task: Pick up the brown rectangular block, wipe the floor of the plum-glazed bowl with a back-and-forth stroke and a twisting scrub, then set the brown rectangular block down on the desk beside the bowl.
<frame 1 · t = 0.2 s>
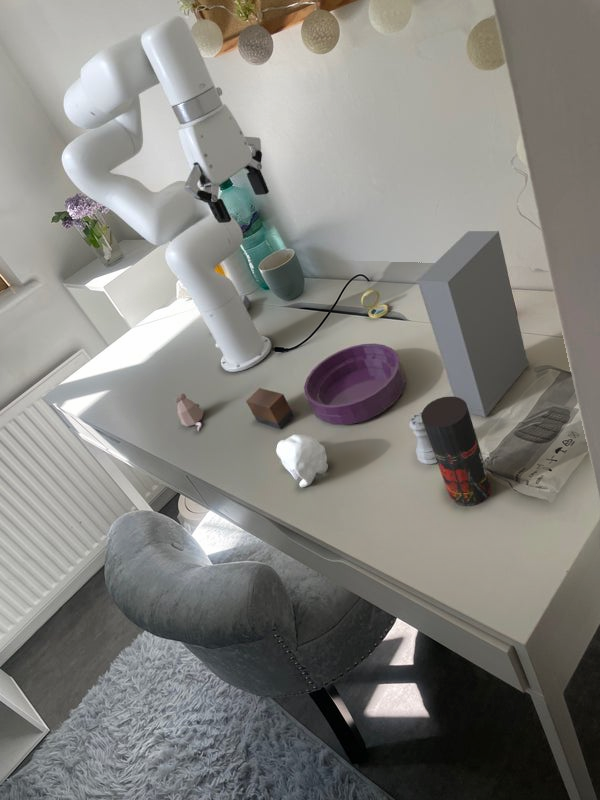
hand: (244, 207, 106), 37 cm above the table, tool pointing down, fingers open, 9 cm apart
brown rectangular block: (275, 418, 119), on the table
stone block: (230, 319, 163), on the table
bowl: (359, 394, 115), on the table
upright grey slab: (491, 388, 102), on the table
mouse figurine: (195, 423, 129), on the table
rook chess piece: (432, 456, 95), on the table
deodorant: (470, 490, 87), on the table
eyeshadow: (378, 312, 136), on the table
white lumpy piece: (305, 470, 104), on the table
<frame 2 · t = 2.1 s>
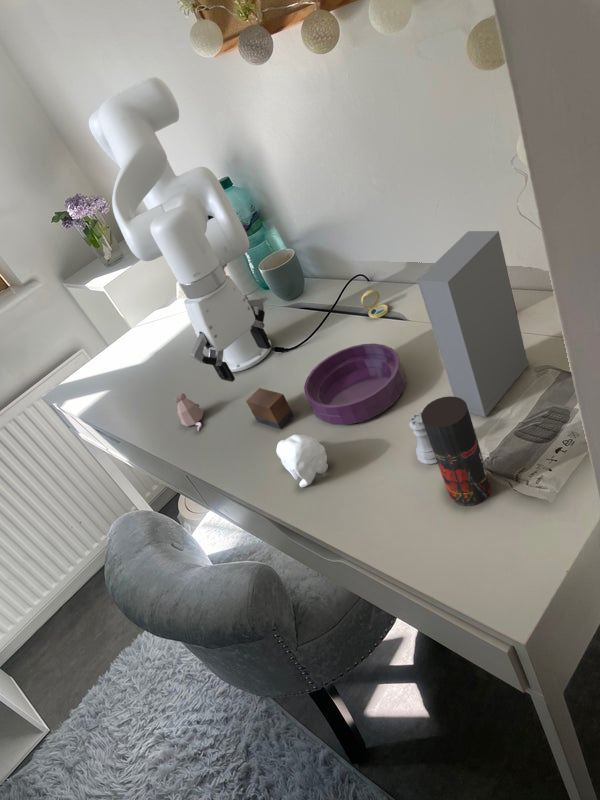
hand: (247, 363, 111), 14 cm above the table, tool pointing down, fingers open, 9 cm apart
nothing on the table moved.
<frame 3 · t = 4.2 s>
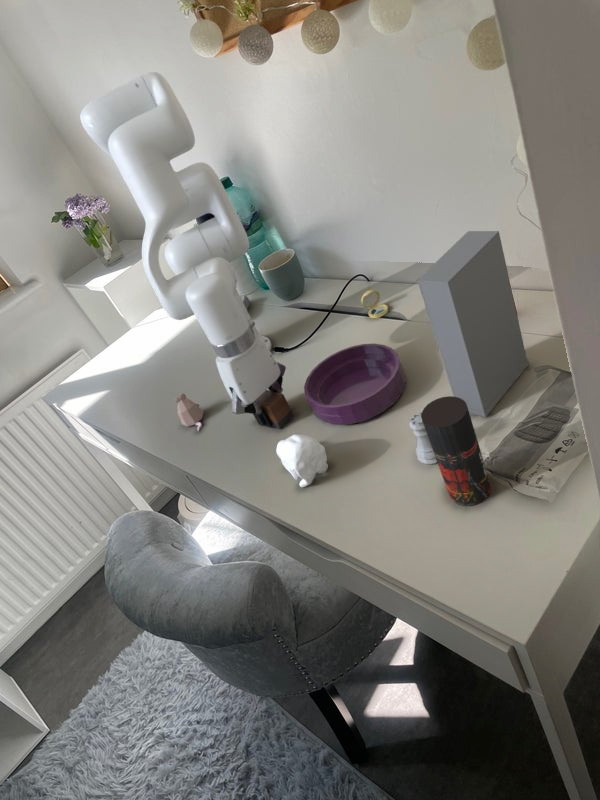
hand: (274, 416, 119), 1 cm above the table, tool pointing down, fingers closed on brown rectangular block, 4 cm apart
brown rectangular block: (275, 418, 119), on the table, touching gripper
everything else where it was.
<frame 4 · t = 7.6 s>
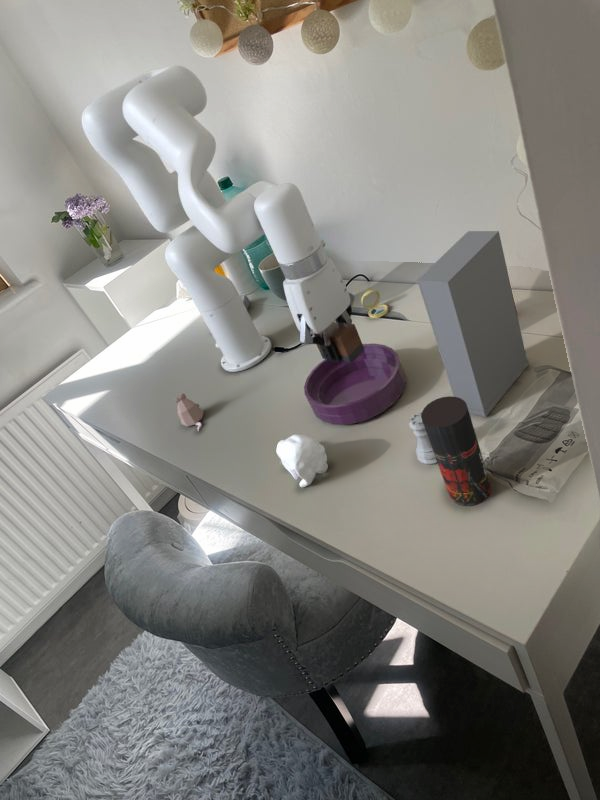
hand: (342, 351, 109), 10 cm above the table, tool pointing down, fingers closed on brown rectangular block, 4 cm apart
brown rectangular block: (343, 354, 109), point 10 cm above the table, touching gripper
everything else where it was.
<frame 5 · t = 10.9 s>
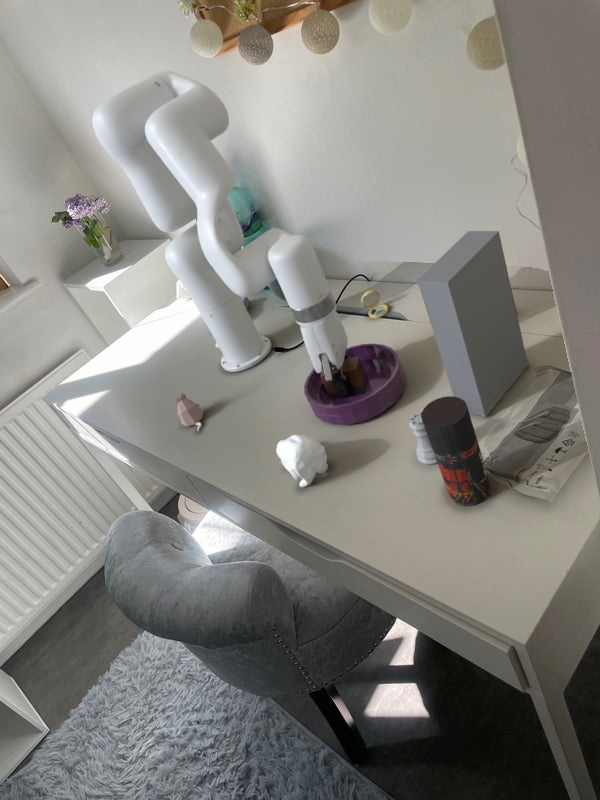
hand: (347, 386, 116), 1 cm above the table, tool pointing down, fingers closed on brown rectangular block, 4 cm apart
brown rectangular block: (349, 388, 116), point 1 cm above the table, touching gripper
everything else where it was.
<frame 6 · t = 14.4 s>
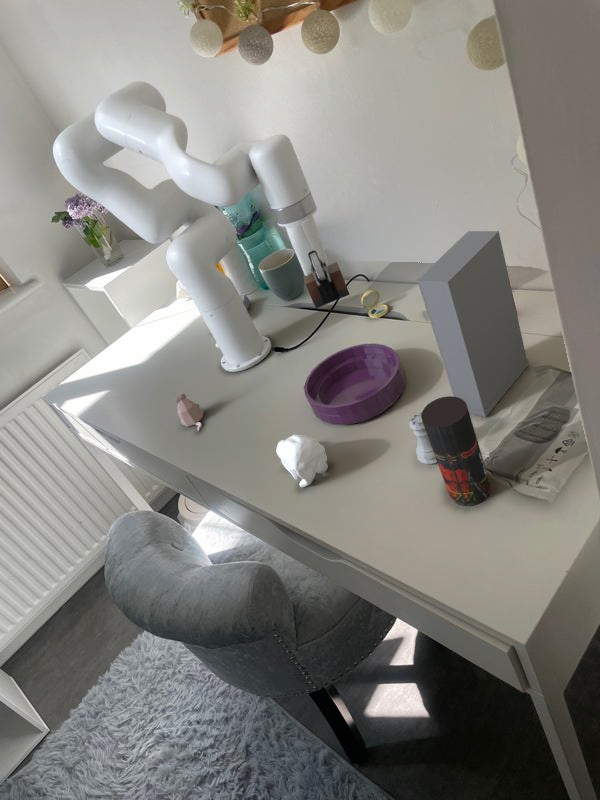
hand: (329, 294, 119), 14 cm above the table, tool pointing down, fingers closed on brown rectangular block, 4 cm apart
brown rectangular block: (331, 297, 119), point 14 cm above the table, touching gripper
everything else where it was.
when the fingers open (0 cm above the table, at t = 17.7 s): brown rectangular block stays where it is, on the table.
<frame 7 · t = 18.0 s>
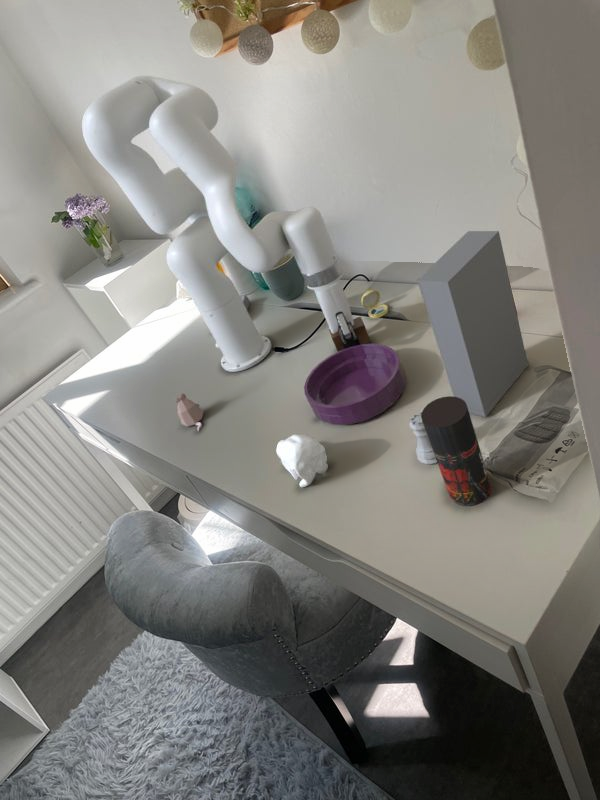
hand: (352, 346, 128), 1 cm above the table, tool pointing down, fingers open, 6 cm apart
brown rectangular block: (355, 348, 128), on the table
everything else where it was.
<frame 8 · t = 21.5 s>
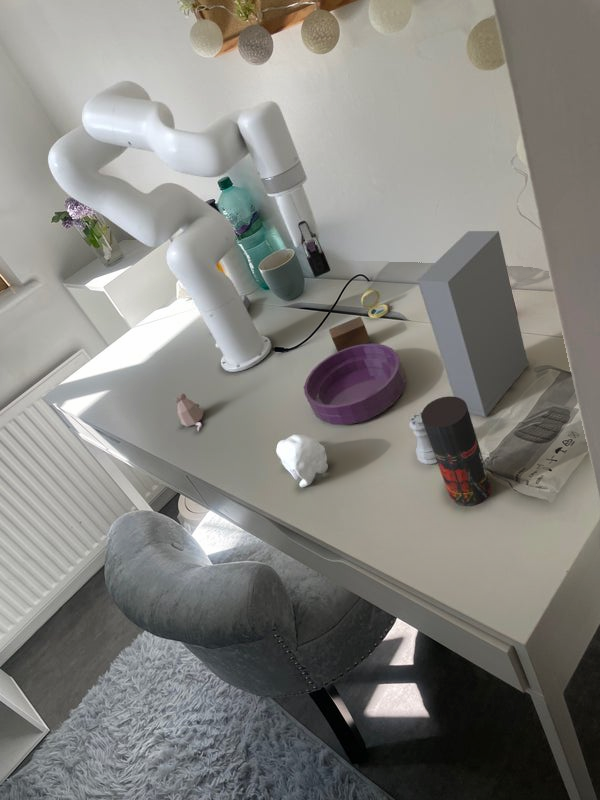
hand: (318, 264, 117), 20 cm above the table, tool pointing down, fingers open, 9 cm apart
nothing on the table moved.
at the end: brown rectangular block inside the target area (0.4 cm from its centre), on the table; brown rectangular block tilted 0°; bowl moved 0.0 cm from its start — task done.
